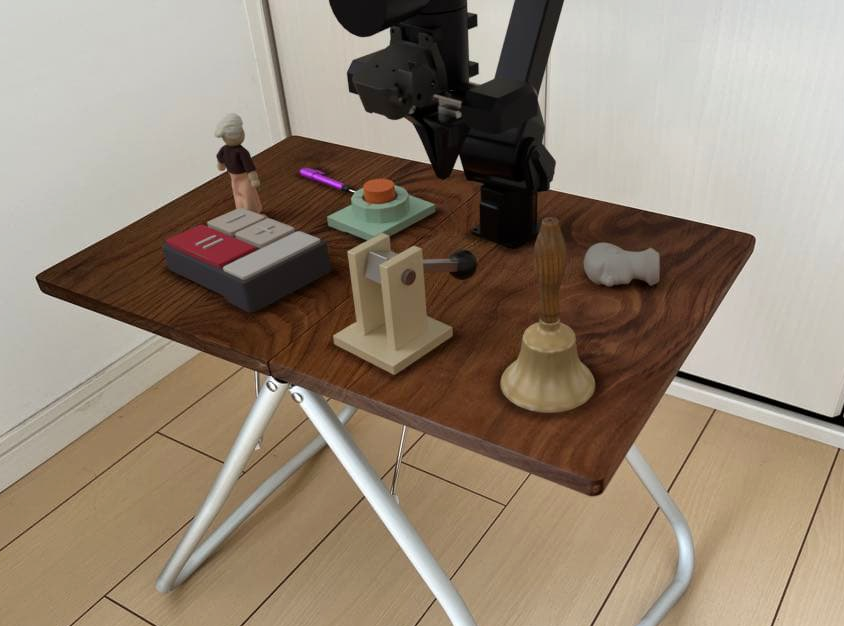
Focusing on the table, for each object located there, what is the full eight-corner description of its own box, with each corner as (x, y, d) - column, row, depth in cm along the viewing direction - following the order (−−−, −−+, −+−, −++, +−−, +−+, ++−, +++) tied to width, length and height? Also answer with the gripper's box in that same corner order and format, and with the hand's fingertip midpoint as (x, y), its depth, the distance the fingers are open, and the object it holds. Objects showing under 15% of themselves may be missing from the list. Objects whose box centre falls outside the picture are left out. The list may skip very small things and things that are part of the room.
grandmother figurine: (284, 219, 104) (265, 114, 96) (262, 232, 101) (241, 125, 94) (237, 206, 107) (215, 103, 99) (214, 218, 105) (190, 114, 97)
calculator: (240, 202, 99) (327, 234, 91) (249, 237, 102) (333, 271, 93) (157, 238, 93) (241, 276, 85) (168, 274, 96) (251, 314, 87)
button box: (387, 196, 108) (385, 173, 106) (435, 213, 104) (434, 189, 102) (328, 225, 102) (324, 202, 100) (376, 245, 98) (373, 221, 96)
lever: (456, 274, 89) (463, 245, 88) (479, 283, 87) (486, 254, 86) (360, 279, 78) (366, 246, 77) (384, 289, 77) (390, 256, 75)
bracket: (393, 309, 87) (384, 220, 81) (453, 337, 83) (448, 245, 77) (334, 345, 83) (320, 253, 77) (394, 377, 78) (384, 282, 72)
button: (380, 189, 103) (378, 175, 102) (402, 197, 101) (400, 183, 100) (358, 200, 101) (356, 186, 100) (380, 208, 99) (378, 194, 98)
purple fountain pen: (297, 176, 114) (385, 210, 106) (298, 167, 113) (385, 200, 105) (313, 174, 116) (400, 207, 107) (313, 165, 115) (401, 198, 107)
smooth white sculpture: (576, 292, 91) (594, 258, 93) (651, 308, 88) (667, 272, 90) (572, 263, 87) (591, 228, 90) (650, 278, 84) (667, 242, 86)
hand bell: (569, 426, 72) (578, 255, 62) (483, 396, 76) (478, 229, 66) (610, 374, 78) (625, 209, 68) (528, 348, 81) (531, 187, 71)
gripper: (290, 10, 75) (316, 181, 84) (452, 48, 65) (460, 237, 74) (383, -18, 81) (397, 145, 91) (543, 13, 71) (540, 191, 81)
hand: (443, 177), depth 84 cm, fingers closed
